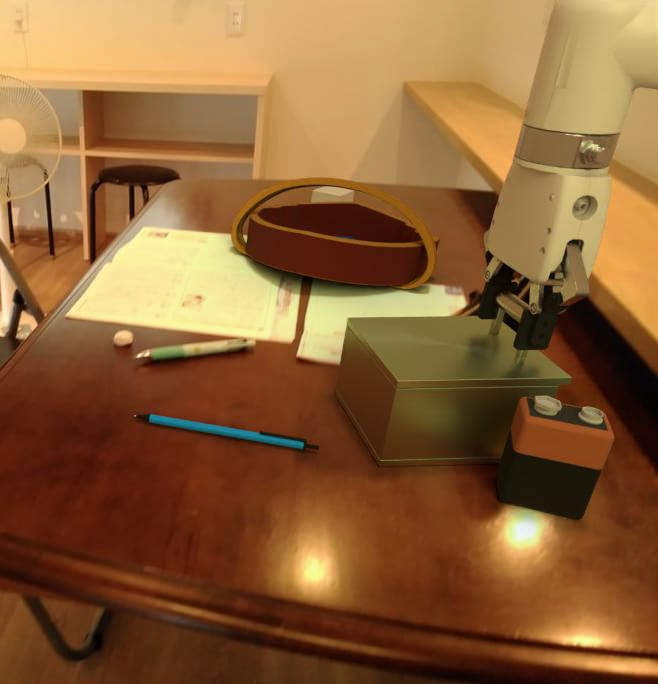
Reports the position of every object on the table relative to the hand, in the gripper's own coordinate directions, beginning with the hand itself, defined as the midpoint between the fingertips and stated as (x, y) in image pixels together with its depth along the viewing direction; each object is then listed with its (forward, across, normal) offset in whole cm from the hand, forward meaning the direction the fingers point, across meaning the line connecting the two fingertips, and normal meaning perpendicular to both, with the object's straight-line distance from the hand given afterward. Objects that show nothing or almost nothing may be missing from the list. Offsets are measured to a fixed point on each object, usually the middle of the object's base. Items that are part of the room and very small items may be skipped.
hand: (510, 331), depth 68 cm
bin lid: (+2, 0, +6) cm, 6 cm away
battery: (+11, -12, +1) cm, 17 cm away
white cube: (+11, +74, -7) cm, 75 cm away
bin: (+11, 0, +6) cm, 13 cm away
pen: (+11, -1, +28) cm, 30 cm away
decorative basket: (+11, +47, +2) cm, 48 cm away
